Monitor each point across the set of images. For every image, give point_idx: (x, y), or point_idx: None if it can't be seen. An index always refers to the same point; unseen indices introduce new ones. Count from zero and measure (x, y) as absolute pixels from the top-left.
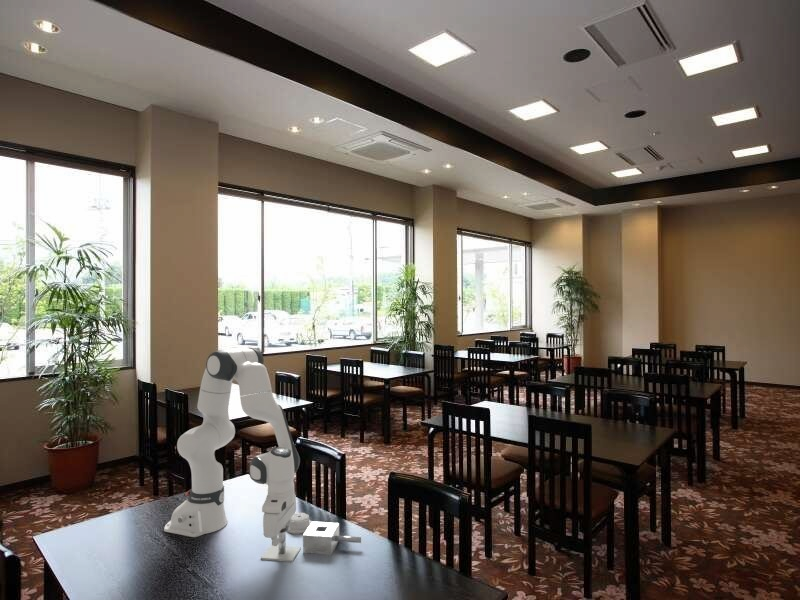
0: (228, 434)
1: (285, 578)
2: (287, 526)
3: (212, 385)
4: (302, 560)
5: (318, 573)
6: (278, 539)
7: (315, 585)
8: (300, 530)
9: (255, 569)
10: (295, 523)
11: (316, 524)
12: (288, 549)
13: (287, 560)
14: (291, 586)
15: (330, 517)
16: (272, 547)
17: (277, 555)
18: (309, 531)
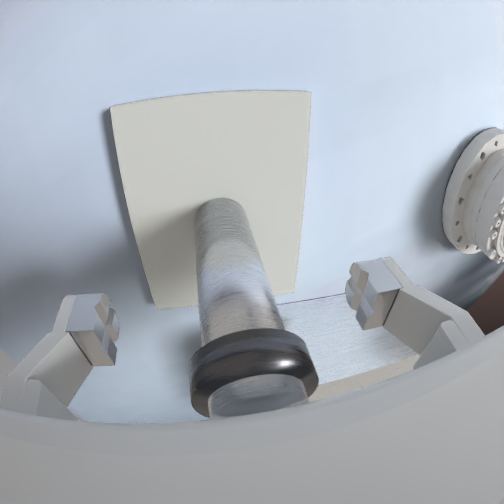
0: None
1: (41, 322)
2: (380, 318)
3: None
4: (186, 331)
5: (130, 388)
6: (101, 365)
7: (76, 393)
8: (451, 225)
9: (12, 152)
10: (489, 213)
11: (397, 375)
12: (264, 243)
13: (149, 284)
14: (27, 350)
15: (498, 270)
16: (280, 119)
17: (172, 211)
18: (325, 392)
